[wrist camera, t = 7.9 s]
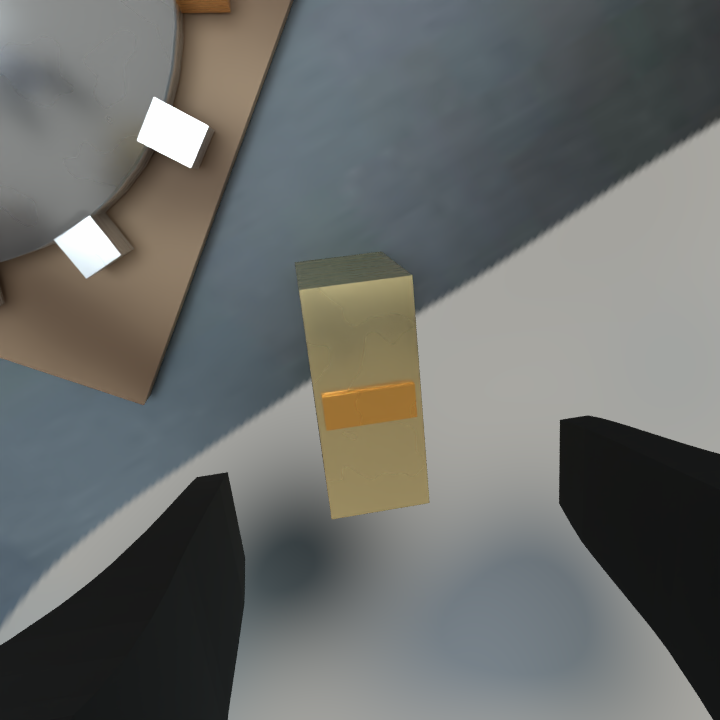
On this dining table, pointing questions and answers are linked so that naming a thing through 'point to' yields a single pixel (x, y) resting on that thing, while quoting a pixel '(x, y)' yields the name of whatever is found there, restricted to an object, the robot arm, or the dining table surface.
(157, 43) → the sprocket
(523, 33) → the dining table surface
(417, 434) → the yellow block
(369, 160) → the dining table surface
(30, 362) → the sprocket base
